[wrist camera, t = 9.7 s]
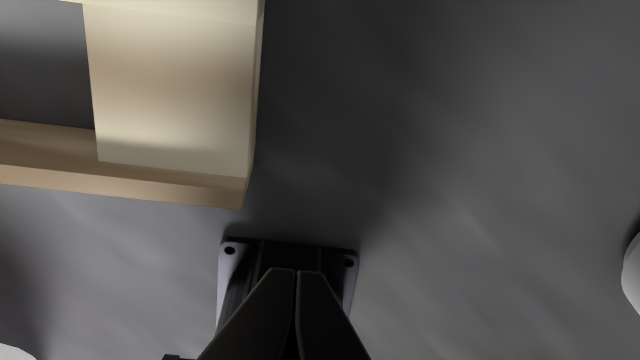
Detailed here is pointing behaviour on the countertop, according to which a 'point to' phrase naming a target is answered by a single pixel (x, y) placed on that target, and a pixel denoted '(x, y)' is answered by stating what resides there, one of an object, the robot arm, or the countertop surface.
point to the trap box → (155, 106)
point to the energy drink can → (632, 273)
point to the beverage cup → (13, 353)
